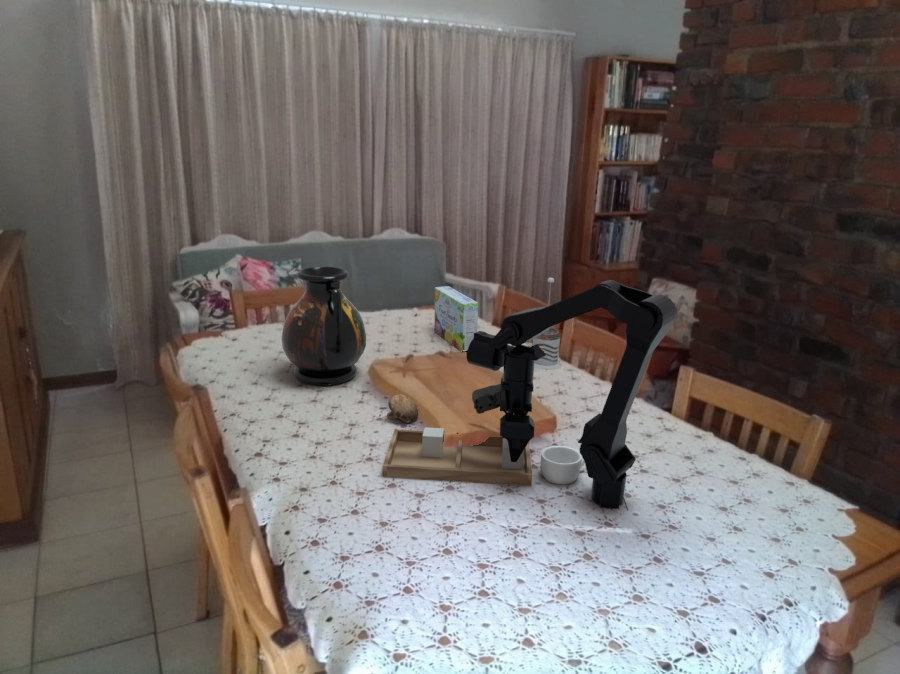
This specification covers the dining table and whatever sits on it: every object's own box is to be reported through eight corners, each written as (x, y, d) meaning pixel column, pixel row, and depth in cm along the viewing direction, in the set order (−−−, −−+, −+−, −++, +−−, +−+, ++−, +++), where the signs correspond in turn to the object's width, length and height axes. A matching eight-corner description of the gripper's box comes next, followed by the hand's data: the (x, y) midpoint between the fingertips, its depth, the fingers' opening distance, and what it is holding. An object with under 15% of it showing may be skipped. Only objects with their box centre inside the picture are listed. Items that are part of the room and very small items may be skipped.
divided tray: (531, 489, 127) (532, 475, 126) (382, 480, 129) (382, 466, 128) (527, 450, 143) (528, 437, 142) (394, 442, 144) (394, 429, 143)
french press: (563, 370, 189) (571, 282, 182) (522, 368, 190) (528, 280, 182) (559, 358, 199) (566, 274, 191) (519, 356, 199) (525, 272, 191)
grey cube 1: (443, 448, 140) (444, 428, 139) (441, 457, 136) (442, 437, 135) (424, 447, 141) (424, 427, 139) (422, 456, 137) (422, 435, 135)
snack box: (432, 332, 219) (433, 286, 214) (448, 330, 221) (449, 285, 217) (461, 352, 201) (463, 303, 196) (478, 350, 203) (480, 301, 199)
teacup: (554, 493, 126) (556, 467, 125) (531, 474, 133) (533, 449, 131) (596, 482, 131) (599, 457, 129) (572, 464, 137) (574, 440, 136)
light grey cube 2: (522, 469, 133) (523, 448, 131) (501, 468, 133) (503, 447, 132) (521, 459, 137) (523, 439, 135) (501, 458, 137) (502, 438, 136)
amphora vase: (380, 382, 176) (380, 276, 168) (300, 397, 165) (296, 284, 157) (346, 357, 194) (345, 260, 185) (272, 369, 183) (267, 266, 174)
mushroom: (373, 408, 152) (390, 387, 151) (391, 409, 160) (407, 390, 158) (395, 433, 149) (413, 412, 148) (412, 433, 156) (429, 413, 155)
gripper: (476, 357, 138) (473, 427, 143) (474, 392, 121) (470, 471, 125) (531, 360, 138) (526, 430, 143) (537, 396, 120) (531, 475, 125)
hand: (513, 450), depth 134 cm, fingers open, 9 cm apart
